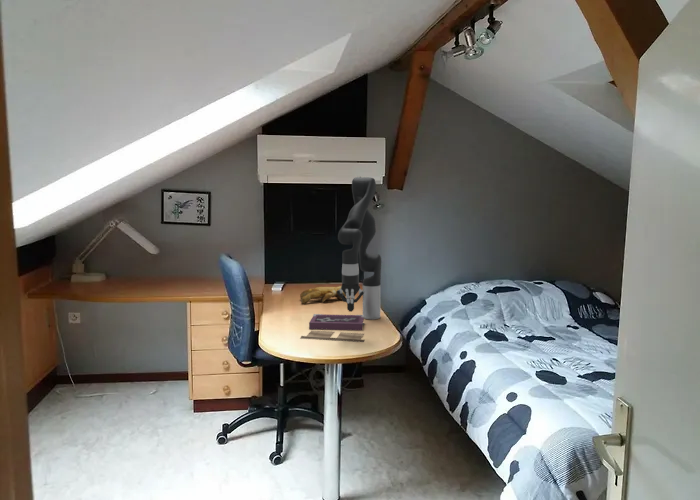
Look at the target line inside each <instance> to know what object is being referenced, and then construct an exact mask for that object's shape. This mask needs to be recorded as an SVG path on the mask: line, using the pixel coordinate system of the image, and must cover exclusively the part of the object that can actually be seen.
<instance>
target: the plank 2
mask: <svg viewBox="0 0 700 500" xmlns="http://www.w3.org/2000/svg"><path fill="white" fill-rule="evenodd" d="M364 335H365V333H358V332H357V333H356V332H341V331H340V333H339V334H338V335H337V337H336V338H346V339H362V338H363V337H364Z"/></svg>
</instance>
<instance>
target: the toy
mask: <svg viewBox="0 0 700 500" xmlns="http://www.w3.org/2000/svg"><path fill="white" fill-rule="evenodd" d="M341 286H342V285H338V286H317V287H313V288H308V289H305V290H303V291H301V292H300V294H299V295H300V303H301V304H302V305H305V304H308V302H310V300H317V299H321V302H322V303H324V302H325V301H326V300H327V299H328V300H329V299H331V298H336V299H337V300H339V301H340V300H341V301H342V299H341V298H340V296H339V295H338V294H337V291H338V290H339V289H341ZM343 295H344V296H345V297H346V295H345V293H344V292H343Z"/></svg>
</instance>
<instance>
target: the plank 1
mask: <svg viewBox="0 0 700 500" xmlns="http://www.w3.org/2000/svg"><path fill="white" fill-rule="evenodd" d="M334 334H335V331H330V330H329V331H328V330H326V331H325V330H314V329H310V331H309V333H307V335H306V336H312V337H329V338H332V336H333V335H334Z"/></svg>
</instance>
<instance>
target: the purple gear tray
mask: <svg viewBox="0 0 700 500" xmlns="http://www.w3.org/2000/svg"><path fill="white" fill-rule="evenodd" d="M364 317H365V315H363V314H324V313H313V315H312V317H311V318H310V320H309V322H308V329H309V330H321V331H325V330H326V331H328V330H329V331H330V330H331V331H333V330H335V331H363V326H365V324H366V323H365V322H364V321H365V318H364Z"/></svg>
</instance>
